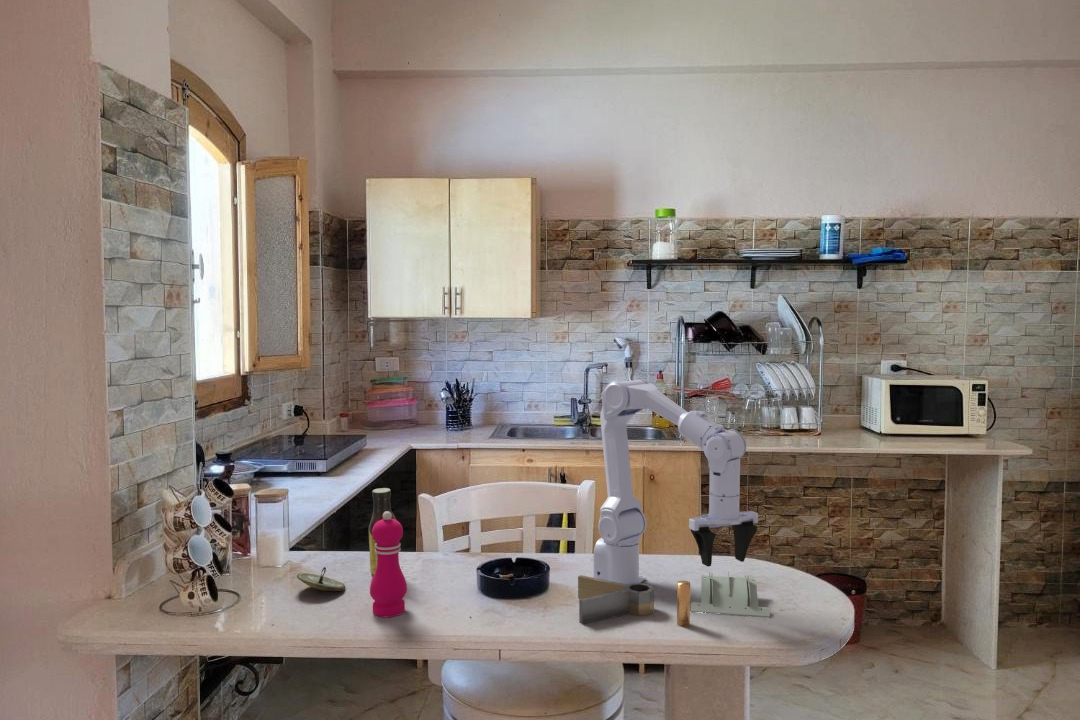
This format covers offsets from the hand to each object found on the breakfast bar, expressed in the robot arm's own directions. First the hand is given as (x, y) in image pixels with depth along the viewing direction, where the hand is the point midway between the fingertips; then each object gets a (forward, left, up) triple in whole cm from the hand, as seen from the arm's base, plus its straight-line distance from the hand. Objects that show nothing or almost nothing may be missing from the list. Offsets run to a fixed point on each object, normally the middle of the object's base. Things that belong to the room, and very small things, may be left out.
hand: (723, 562), depth 156 cm
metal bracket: (-1, +6, -11) cm, 12 cm away
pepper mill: (-57, -33, -10) cm, 66 cm away
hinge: (-20, -11, -10) cm, 25 cm away
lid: (-77, -32, -10) cm, 83 cm away
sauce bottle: (-71, -19, -10) cm, 74 cm away
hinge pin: (-5, -9, -10) cm, 14 cm away
